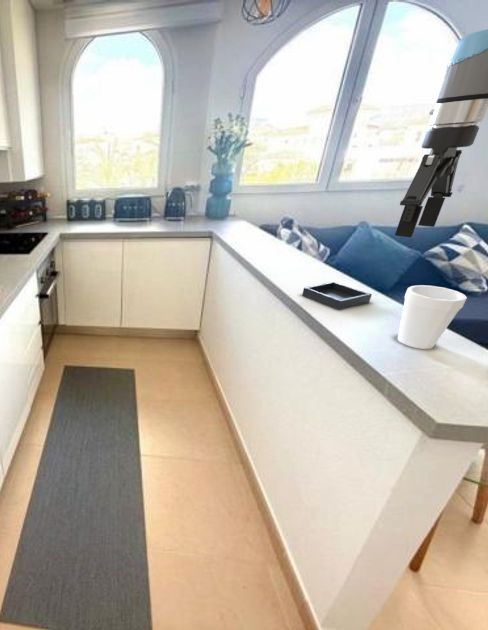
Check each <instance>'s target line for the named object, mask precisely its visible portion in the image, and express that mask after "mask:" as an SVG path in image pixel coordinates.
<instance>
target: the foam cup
mask: <svg viewBox="0 0 488 630" xmlns="http://www.w3.org/2000/svg"><path fill="white" fill-rule="evenodd" d="M467 299H468V297H467V296H466V295H465V294H464V293H462V292H460V291H457V290H454V289H451V288H447V287H444V286H443V287H442V286H436V285H427V284H426V285H424V284H419V285H418V284H417V285H411V286H409V287H407V289H406V291H405V294H404V303H403V307H402V312H401V318H400V323H399V329H398V333H397V340H398V342H400V343H401V344H403V345H404V346H405V345H406V346H408V347H411V348H415V349H420V350H429V349H432V348H433V347H434V346H435V345H436V344H437V342H438V341H439V340H440V338H441V337H442V335H443V334H444V333H445V331H446V329H447V328H448V327H449V325H450V324H451V322H452V321H453V320H454V318H455V316H456V315H457V314H458V313H459V312H460V310H461V309H463V307H464V306H465V303H466V301H467Z"/></svg>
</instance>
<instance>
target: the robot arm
mask: <svg viewBox="0 0 488 630" xmlns="http://www.w3.org/2000/svg"><path fill="white" fill-rule="evenodd" d="M487 110H488V28H487V29H483V30H477V31H475V32H472V33H468V34H467V35H465V36H463V37H462V38H461V39H459V40H458V42H457V43H456V45H455V47H454V50H453V53H452V55H451V58H450V60H449V63H448V65H447V66H446V71H445V75H444V78H443V80H442V84H441V87H440V90H439V93H438V95H437V100H436V102H435V105H434V108H433V109H431V110H430V111H429V116H431V117H430V119H429V123H428V125H429V127H431V128H428V129H427V130H426V131H425V134H424V137H423V140H422V143H421V149H426V150H427V149H428V150H429V149H432V150H431V152H430V154H427V153H426V154H424V155H423V156H422V159H421V161H420V165H419V166H418V169H417V171H416V172H415V175H414V176H413V179H412V181H411V183H410V184H409V186H408V189H407V191H406V193H405V195H404V197H403V199H402V200H400V202H399V206H404V207H403V210H402V213H401V216H400V218H399V221H398V225H397V227H396V230H395V233H394V236H395V237H403V238H412V237H413V234H414V231H415V230H416V227H417V226H420V227H431V228H434V227H435V226H436V223H437V220H438V218H439V216H440V213H441V210H442V207H443V205H444V203H445V200H446V198H451V197H452V195H453V192H452V190H453V184H454V181H455V176H456V173H457V168H458V164H459V161H460V158H461V155H462V153H463V152H462V151H463V150H462V149H458V148H467V147H470V146H472V145H473V144H474V143H475V140H476V138H477V136H478V132H479V130H480V127H479V125H478V123H481V122H483V121H484V118H485V116H486V113H487ZM429 193H430V196H429V197H428V194H429ZM426 198H427V200H426V203H425V205H424V206H423V203H424V201H425V199H426ZM423 207H424V208H423ZM421 213H422V214H421ZM420 215H421V217H420ZM418 221H419V222H418Z"/></svg>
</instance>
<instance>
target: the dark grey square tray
mask: <svg viewBox="0 0 488 630" xmlns="http://www.w3.org/2000/svg"><path fill="white" fill-rule="evenodd" d="M372 295H373V294H372V293H369V292H367V291H364V290H360V289H357V288H354V287H351V286H348V285H345V284H342V283H339V282H337V281H336V282H335V281H329V282H324V283H320V284H314V285H309V286H306V287H303V290H302V294H301V296H302V297H305V298H308V299H310V300H312V301H314V302H317V303H320V304H322V305H325V306H327V307H330V308H333V309H335V310H337V311H339V310H344V309H347V308H353V307H357V306H360V305H365V304H368V303H370V301H371V299H372Z"/></svg>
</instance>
